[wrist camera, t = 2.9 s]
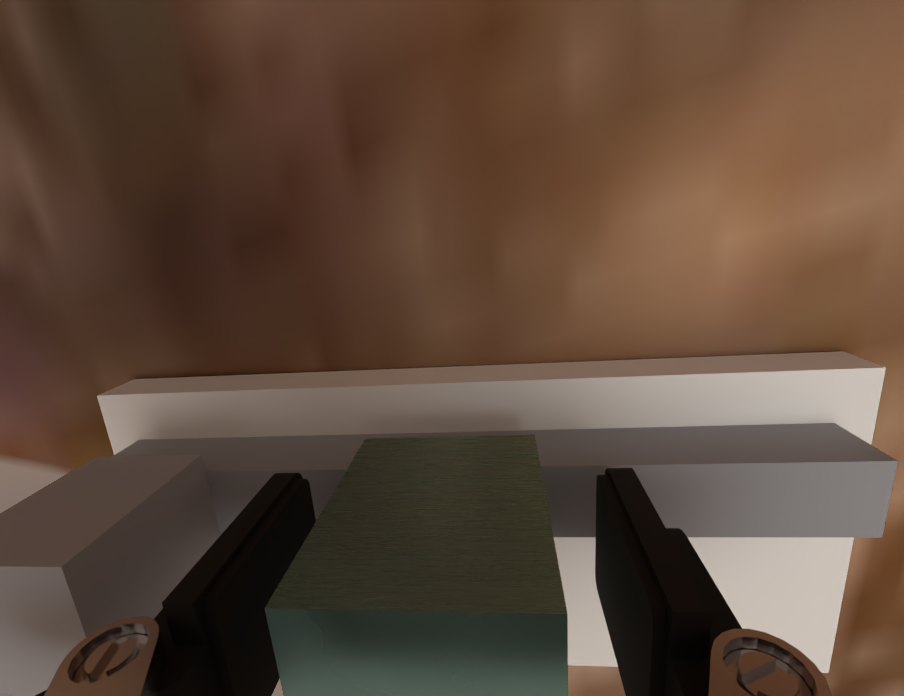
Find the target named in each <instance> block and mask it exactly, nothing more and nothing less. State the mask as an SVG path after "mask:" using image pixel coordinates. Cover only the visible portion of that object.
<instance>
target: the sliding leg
mask: <svg viewBox="0 0 904 696" xmlns="http://www.w3.org/2000/svg"><path fill="white" fill-rule="evenodd" d="M265 613H266V617H267V622H268V627H269V631H270V636H271V640H272V645H273V649H274V654H275V659H276V663H277V668H278V672H279V677H280V681H281V686H282V690H283V695H284V696H568V618H567V609H566V603H565V598H564V592H563V587H562V581H561V576H560V570H559V565H558V559H557V554H556V548H555V543H554V537H553V532H552V526H551V521H550V515H549V510H548V504H547V499H546V493H545V488H544V482H543V477H542V471H541V466H540V460H539V455H538V449H537V444H536V438H535V435H493V436H450V437H407V438H365V440H364V442H363V443H362V445H361V447H360V448H359V450H358V452H357V453H356V455H355V457H354V459H353V460H352V462H351V464H350V465H349V467H348V469H347V470H346V472H345V474H344V475H343V477H342V479H341V480H340V482H339V484H338V486H337V487H336V489H335V491H334V492H333V494H332V496H331V497H330V499H329V501H328V502H327V504H326V506H325V507H324V509H323V511H322V512H321V514H320V516H319V518H318V519H317V521H316V523H315V524H314V526H313V528H312V529H311V531H310V533H309V534H308V536H307V538H306V539H305V541H304V543H303V545H302V546H301V548H300V550H299V551H298V553H297V555H296V556H295V558H294V560H293V561H292V563H291V565H290V566H289V568H288V570H287V571H286V573H285V575H284V577H283V578H282V580H281V582H280V583H279V585H278V587H277V588H276V590H275V592H274V593H273V595H272V597H271V598H270V600H269V602H268V604H267V605H266V607H265Z"/></svg>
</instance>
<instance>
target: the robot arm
mask: <svg viewBox="0 0 904 696" xmlns="http://www.w3.org/2000/svg"><path fill="white" fill-rule="evenodd" d="M315 523H316V518H315V512H314V506H313V501H312V495H311V489H310V484H309V481H308V480H307V479H303V477H302V476H301V474H300V473H275V474H274V475H273V476H272V477H271V478H270V479H269V480H268V481H267V483H266V484H265V485H264V486H263V487H262V488H261V489H260V491H259V492H258V493H257V494H256V495H255V496H254V497H253V499H252V500H251V501H250V502H249V503H248V504H247V506H246V507H245V508H244V509H243V510H242V511H241V512H240V514H239V515H238V516H237V517H236V518H235V519H234V520H233V522H232V523H231V524H230V525H229V526H228V527H227V529H226V530H225V531H224V532H223V533H222V534H221V535H220V537H219V538H218V539H217V540H216V541H215V542H214V543H213V545H212V546H211V547H210V548H209V549H208V550H207V551H206V553H205V554H204V555H203V556H202V557H201V558H200V560H199V561H198V562H197V563H196V564H195V565H194V566H193V568H192V569H191V570H190V571H189V572H188V573H187V574H186V576H185V577H184V578H183V579H182V580H181V581H180V583H179V584H178V585H177V586H176V587H175V588H174V589H173V591H172V592H171V593H170V594H169V595H168V596H167V597H166V599H165V600H164V601H163V602H162V606H163V609H162V610H161V611H160V612H159V613H158V615H157V616H156V617H155V618H154V619H152V618H149V617H145V616H134V617H129V618H124V619H121V620H118V621H116V622H113V623H110V624H108V625H106V626H104V627H103V628H101V629H99V630H97V631H95V632H93V633H92V634H91V635H89V636H88V637H86V638H85V639H84V640H82V641H81V642H80V643H78V644H77V645H76V646H75V647H74V648H73V649H72V650H71V651H70V652H69V653H68V654H67V655H66V657H65V658H64V660H63V661H62V663H61V664H60V666H59V667H58V669H57V671H56V673H55V675H54V677H53V679H52V681H51V683H50V685H49V687H48V689H47V690H45V691H43V692H41V693H39V694H37V695H35V696H271V695H272V693H273V691H274V689H275V687H276V685H277V682H278V680H279V678H280V677H279V672H278V668H277V663H276V659H275V654H274V649H273V645H272V640H271V636H270V631H269V627H268V622H267V617H266V613H265V607H266V605H267V604H268V602H269V600H270V598H271V597H272V595H273V593H274V592H275V590H276V588H277V587H278V585H279V583H280V582H281V580H282V578H283V577H284V575H285V573H286V571H287V570H288V568H289V566H290V565H291V563H292V561H293V560H294V558H295V556H296V555H297V553H298V551H299V550H300V548H301V546H302V545H303V543H304V541H305V539H306V538H307V536H308V534H309V533H310V531H311V529H312V528H313V526H314V524H315ZM595 579H596V586H597V591H598V595H599V599H600V602H601V606H602V610H603V613H604V617H605V621H606V624H607V628H608V632H609V635H610V639H611V643H612V646H613V650H614V654H615V657H616V661H617V665H618V668H619V672H620V676H621V679H622V683H623V687H624V690H625V694H626V696H832V694H831V691H830V689H829V686H828V683H827V681H826V678H825V677H824V676H823V674H822V673H821V672H820V670H819V669H818V668H817V666H816V665H815V664H814V663H813V662H812V661H811V660H810V659H809V658H808V657H807V656H805V655H804V654H803V653H802V652H801V651H800V650H798V649H797V648H795V647H794V646H792V645H790V644H789V643H787V642H786V641H784V640H782V639H780V638H777V637H775V636H773V635H770V634H768V633H766V632H761V631H757V630H752V629H742V627H741V626H740V624H739V622H738V621H737V619H736V617H735V616H734V614H733V612H732V611H731V609H730V607H729V606H728V604H727V602H726V601H725V599H724V597H723V596H722V594H721V592H720V591H719V589H718V587H717V586H716V584H715V582H714V581H713V579H712V577H711V576H710V574H709V572H708V571H707V569H706V567H705V566H704V564H703V563H702V561H701V559H700V558H699V556H698V554H697V553H696V551H695V549H694V548H693V546H692V544H691V543H690V541H689V539H688V538H687V536H686V534H685V533H684V532H683V531H682V530H681V529H679V528H665V526H664V524H663V522H662V520H661V518H660V517H659V515H658V513H657V511H656V509H655V508H654V506H653V504H652V502H651V500H650V499H649V497H648V495H647V493H646V491H645V489H644V488H643V486H642V484H641V482H640V480H639V479H638V477H637V475H636V473H635V471H634V470H633V468H606V470H605V475H597V480H596V547H595Z"/></svg>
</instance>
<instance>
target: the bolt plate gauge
mask: <svg viewBox="0 0 904 696" xmlns="http://www.w3.org/2000/svg"><path fill="white" fill-rule="evenodd" d="M885 369H886V367H883V366H880V365H878V364H875V363H872V362H870V361H867V360H865V359H862V358H859V357H857V356H854V355H851V354H849V353H846V352H844V351H837V352H811V353H786V354H761V355H735V356H710V357H684V358H659V359H634V360H608V361H583V362H558V363H532V364H507V365H481V366H456V367H431V368H405V369H380V370H354V371H329V372H304V373H278V374H253V375H227V376H202V377H177V378H151V379H133V380H131V381H129V382H126V383H124V384H122V385H120V386H117V387H115V388H113V389H111V390H108V391H106V392H104V393H102V394H99V395H97V398H98V401H99V405H100V408H101V412H102V415H103V418H104V422H105V425H106V429H107V432H108V436H109V439H110V442H111V446H112V449H113V453H114V456H109V457H95V458H93V459H91V460H90V461H88V462H86V463H85V464H83V465H81V466H80V467H78V468H76V469H74V470H73V471H71V472H69V473H68V474H66V475H64V476H63V477H61V478H60V479H58V480H56V481H54V482H53V483H51V484H49V485H48V486H46V487H44V488H43V489H41V490H39V491H38V492H36V493H34V494H32V495H31V496H29V497H27V498H26V499H24V500H22V501H21V502H19V503H18V504H16V505H14V506H12V507H11V508H9V509H7V510H6V511H4V512H2V513H1V514H0V693H10V695H11V696H35V695H37V694H39V693H41V692H43V691H45V690H47V689H48V687H49V685H50V683H51V681H52V679H53V677H54V675H55V673H56V671H57V669H58V667H59V666H60V664H61V663H62V661H63V660H64V658H65V657H66V655H67V654H68V653H69V652H70V651H71V650H72V649H73V648H74V647H75V646H76V645H77V644H78V643H80V642H81V641H82V640H84V639H85V638H86V637H88V636H89V635H91V634H92V633H93V632H95V631H97V630H99V629H101V628H103V627H104V626H106V625H108V624H110V623H113V622H116V621H118V620H121V619H124V618H129V617H134V616H145V617H149V618H152V619H154V618H155V617H156V616H157V615H158V613H159V612H160V611H161V610H162V609H163V606H162V602H163V601H164V600H165V599H166V597H167V596H168V595H169V594H170V593H171V592H172V591H173V589H174V588H175V587H176V586H177V585H178V584H179V583H180V581H181V580H182V579H183V578H184V577H185V576H186V574H187V573H188V572H189V571H190V570H191V569H192V568H193V566H194V565H195V564H196V563H197V562H198V561H199V560H200V558H201V557H202V556H203V555H204V554H205V553H206V551H207V550H208V549H209V548H210V547H211V546H212V545H213V543H214V542H215V541H216V540H217V539H218V538H219V537H220V535H221V534H222V533H223V532H224V531H225V530H226V529H227V527H228V526H229V525H230V524H231V523H232V522H233V520H234V519H235V518H236V517H237V516H238V515H239V514H240V512H241V511H242V510H243V509H244V508H245V507H246V506H247V504H248V503H249V502H250V501H251V500H252V499H253V497H254V496H255V495H256V494H257V493H258V492H259V491H260V489H261V488H262V487H263V486H264V485H265V484H266V483H267V481H268V480H269V479H270V478H271V477H272V476H273V475H274V474H275V473H300V474H301V476H302V477H303V479H307V480H308V481H309V484H310V489H311V495H312V501H313V506H314V512H315V518H316V521H317V519H318V518H319V516H320V514H321V512H322V511H323V509H324V507H325V506H326V504H327V502H328V501H329V499H330V497H331V496H332V494H333V492H334V491H335V489H336V487H337V486H338V484H339V482H340V480H341V479H342V477H343V475H344V474H345V472H346V470H347V469H348V467H349V465H350V464H351V462H352V460H353V459H354V457H355V455H356V453H357V452H358V450H359V448H360V447H361V445H362V443H363V442H364V440H365V438H407V437H450V436H493V435H535V438H536V444H537V449H538V455H539V460H540V466H541V471H542V477H543V482H544V488H545V493H546V499H547V504H548V510H549V515H550V521H551V526H552V532H553V537H554V543H555V548H556V554H557V559H558V565H559V570H560V576H561V581H562V587H563V592H564V598H565V603H566V609H567V618H568V665H577V666H611V667H618V665H617V661H616V657H615V654H614V650H613V646H612V643H611V639H610V635H609V632H608V628H607V624H606V621H605V617H604V613H603V610H602V606H601V602H600V599H599V595H598V591H597V586H596V579H595V547H596V480H597V475H605V470H606V468H633V470H634V471H635V473H636V475H637V477H638V479H639V480H640V482H641V484H642V486H643V488H644V489H645V491H646V493H647V495H648V497H649V499H650V500H651V502H652V504H653V506H654V508H655V509H656V511H657V513H658V515H659V517H660V518H661V520H662V522H663V524H664V526H665V528H679V529H681V530H682V531H683V532H684V533H685V534H686V536H687V538H688V539H689V541H690V543H691V544H692V546H693V548H694V549H695V551H696V553H697V554H698V556H699V558H700V559H701V561H702V563H703V564H704V566H705V567H706V569H707V571H708V572H709V574H710V576H711V577H712V579H713V581H714V582H715V584H716V586H717V587H718V589H719V591H720V592H721V594H722V596H723V597H724V599H725V601H726V602H727V604H728V606H729V607H730V609H731V611H732V612H733V614H734V616H735V617H736V619H737V621H738V622H739V624H740V626H741V627H742V629H752V630H757V631H761V632H766V633H768V634H770V635H773V636H775V637H777V638H780V639H782V640H784V641H786V642H787V643H789V644H790V645H792V646H794V647H795V648H797V649H798V650H800V651H801V652H802V653H803V654H804V655H805V656H807V657H808V658H809V659H810V660H811V661H812V662H813V663H814V664H815V665H816V666H817V668H818V669H819V670H820V672H821V673H829V667H830V662H831V657H832V651H833V646H834V641H835V635H836V630H837V625H838V619H839V614H840V609H841V603H842V598H843V593H844V587H845V582H846V577H847V571H848V566H849V561H850V555H851V550H852V545H853V539H854V537H882V535H883V530H884V525H885V520H886V515H887V510H888V506H889V501H890V496H891V491H892V486H893V481H894V477H895V472H896V467H897V462H898V461H897V460H895V459H894V458H892V457H890V456H889V455H887V454H885V453H884V452H882V451H880V450H879V449H877V448H875V447H874V446H872V445H871V444H872V438H873V433H874V428H875V422H876V417H877V412H878V406H879V401H880V396H881V390H882V385H883V380H884V374H885Z"/></svg>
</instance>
